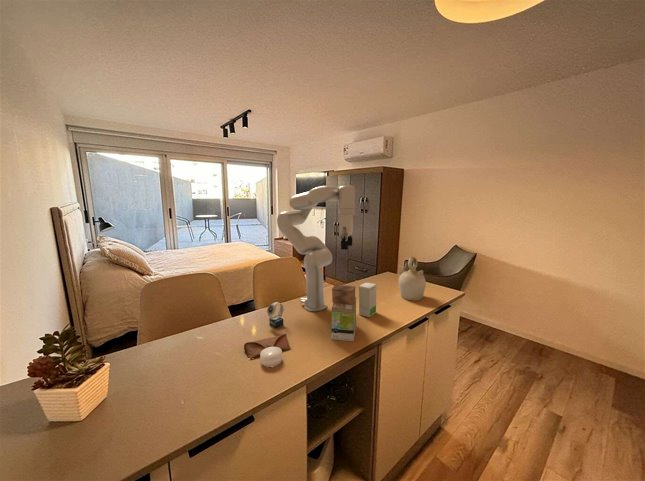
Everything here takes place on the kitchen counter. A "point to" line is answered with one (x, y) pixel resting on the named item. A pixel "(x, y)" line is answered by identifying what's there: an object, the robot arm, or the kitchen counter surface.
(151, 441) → the kitchen counter surface
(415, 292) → the jug
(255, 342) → the sunglasses case
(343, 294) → the walnut box
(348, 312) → the tea box
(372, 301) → the skincare box
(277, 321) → the watch
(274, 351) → the cream white dome
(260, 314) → the kitchen counter surface
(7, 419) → the kitchen counter surface
